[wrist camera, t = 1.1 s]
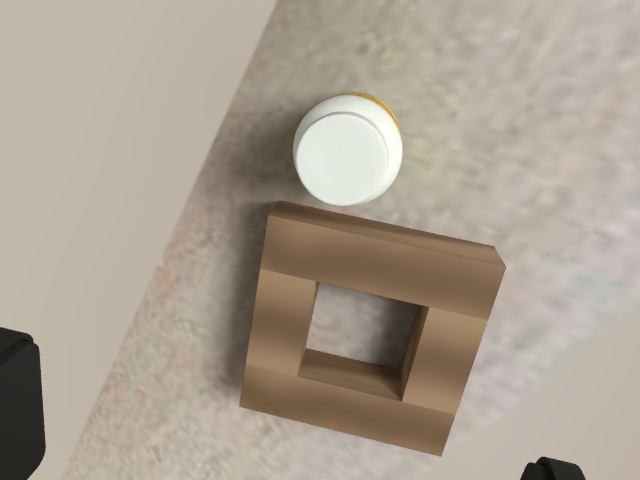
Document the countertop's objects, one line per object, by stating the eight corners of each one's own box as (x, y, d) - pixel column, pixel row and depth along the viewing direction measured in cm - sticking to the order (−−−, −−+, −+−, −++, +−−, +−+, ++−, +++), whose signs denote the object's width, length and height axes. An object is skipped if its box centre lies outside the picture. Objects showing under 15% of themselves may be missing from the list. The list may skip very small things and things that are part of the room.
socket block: (280, 200, 32) (268, 215, 28) (493, 246, 31) (506, 266, 27) (252, 376, 36) (239, 406, 33) (436, 421, 35) (441, 456, 32)
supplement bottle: (402, 176, 30) (407, 219, 21) (317, 183, 31) (287, 226, 22) (397, 86, 28) (400, 90, 19) (308, 96, 29) (272, 104, 20)
